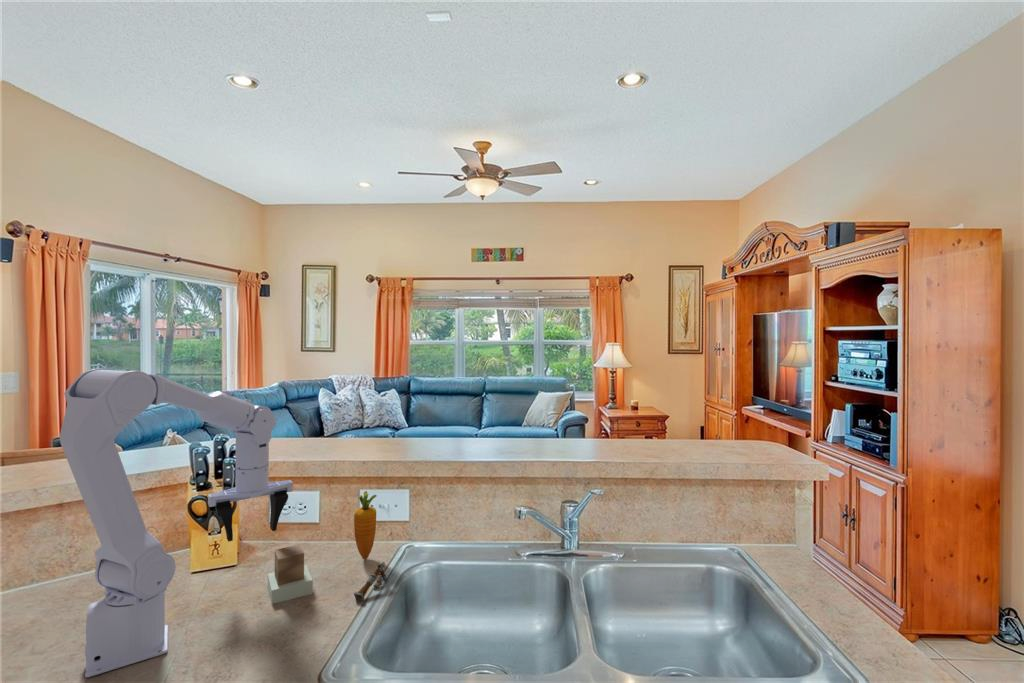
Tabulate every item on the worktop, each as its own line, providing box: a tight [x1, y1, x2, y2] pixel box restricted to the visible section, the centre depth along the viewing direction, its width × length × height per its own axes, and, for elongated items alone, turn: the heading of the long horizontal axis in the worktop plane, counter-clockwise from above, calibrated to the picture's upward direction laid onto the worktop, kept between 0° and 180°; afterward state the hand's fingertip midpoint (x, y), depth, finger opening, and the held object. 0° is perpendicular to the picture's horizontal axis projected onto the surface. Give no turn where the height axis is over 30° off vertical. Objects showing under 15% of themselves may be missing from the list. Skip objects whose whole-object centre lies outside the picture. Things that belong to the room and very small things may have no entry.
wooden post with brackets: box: [353, 561, 388, 602], centre depth 91 cm, size 2×8×4 cm, turn 156°
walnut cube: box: [274, 543, 305, 586], centre depth 91 cm, size 4×4×5 cm
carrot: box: [353, 490, 377, 561], centre depth 103 cm, size 5×5×15 cm
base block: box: [267, 564, 314, 605], centre depth 91 cm, size 7×7×3 cm
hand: (252, 534), depth 93 cm, fingers open, 7 cm apart
